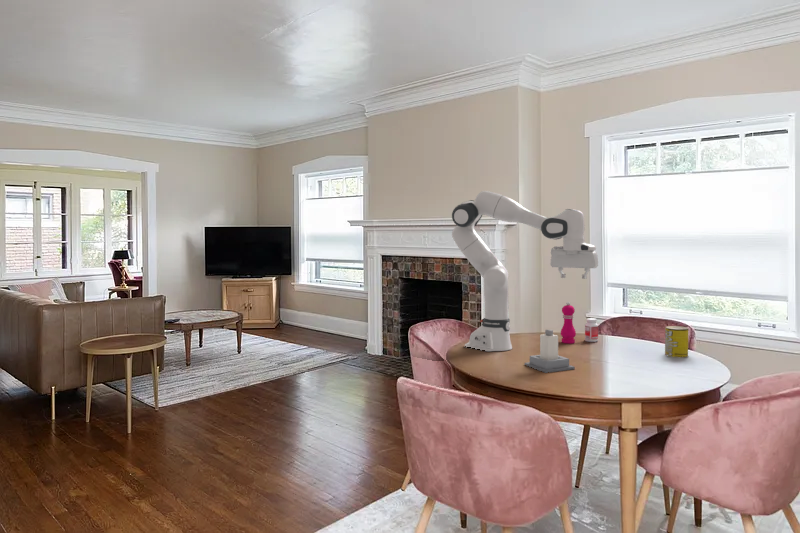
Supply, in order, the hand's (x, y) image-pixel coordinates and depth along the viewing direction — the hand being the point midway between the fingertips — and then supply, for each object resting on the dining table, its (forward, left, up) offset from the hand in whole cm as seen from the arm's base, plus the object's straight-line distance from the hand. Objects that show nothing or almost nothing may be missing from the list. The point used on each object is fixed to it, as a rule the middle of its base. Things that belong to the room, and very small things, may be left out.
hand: (573, 278), depth 244 cm
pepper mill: (-13, +27, -34) cm, 46 cm away
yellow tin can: (+36, +26, -34) cm, 56 cm away
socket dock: (0, -26, -34) cm, 43 cm away
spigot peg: (0, -26, -33) cm, 42 cm away
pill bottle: (-5, +37, -34) cm, 51 cm away
